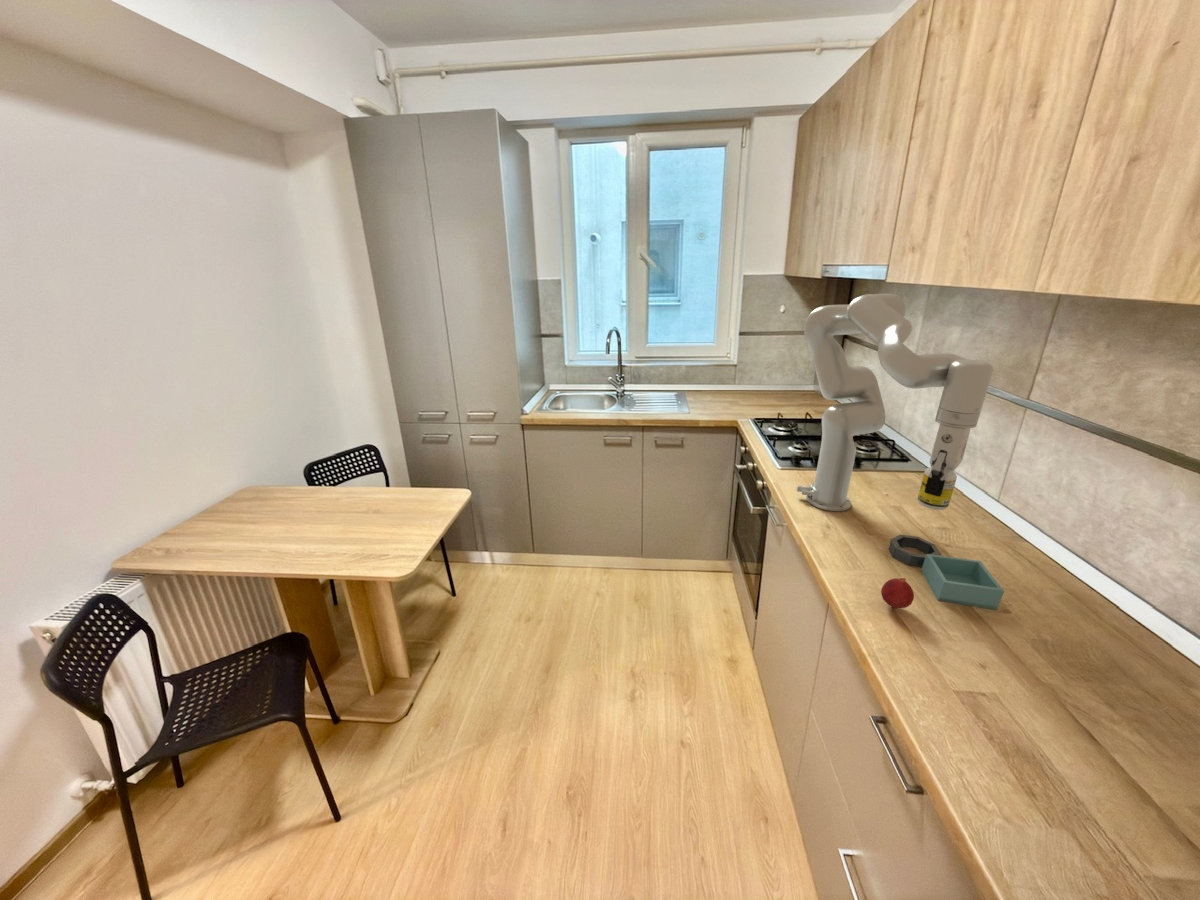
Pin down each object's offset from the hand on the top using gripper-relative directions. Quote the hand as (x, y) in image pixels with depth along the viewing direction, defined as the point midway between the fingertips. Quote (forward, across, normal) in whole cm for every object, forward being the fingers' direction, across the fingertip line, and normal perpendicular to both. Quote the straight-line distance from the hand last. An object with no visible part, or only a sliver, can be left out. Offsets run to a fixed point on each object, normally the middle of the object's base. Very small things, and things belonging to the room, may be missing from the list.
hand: (936, 488), depth 110 cm
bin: (+20, -7, -10) cm, 23 cm away
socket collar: (+20, +1, +1) cm, 20 cm away
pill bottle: (+4, 0, 0) cm, 4 cm away
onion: (+20, -24, -2) cm, 31 cm away
